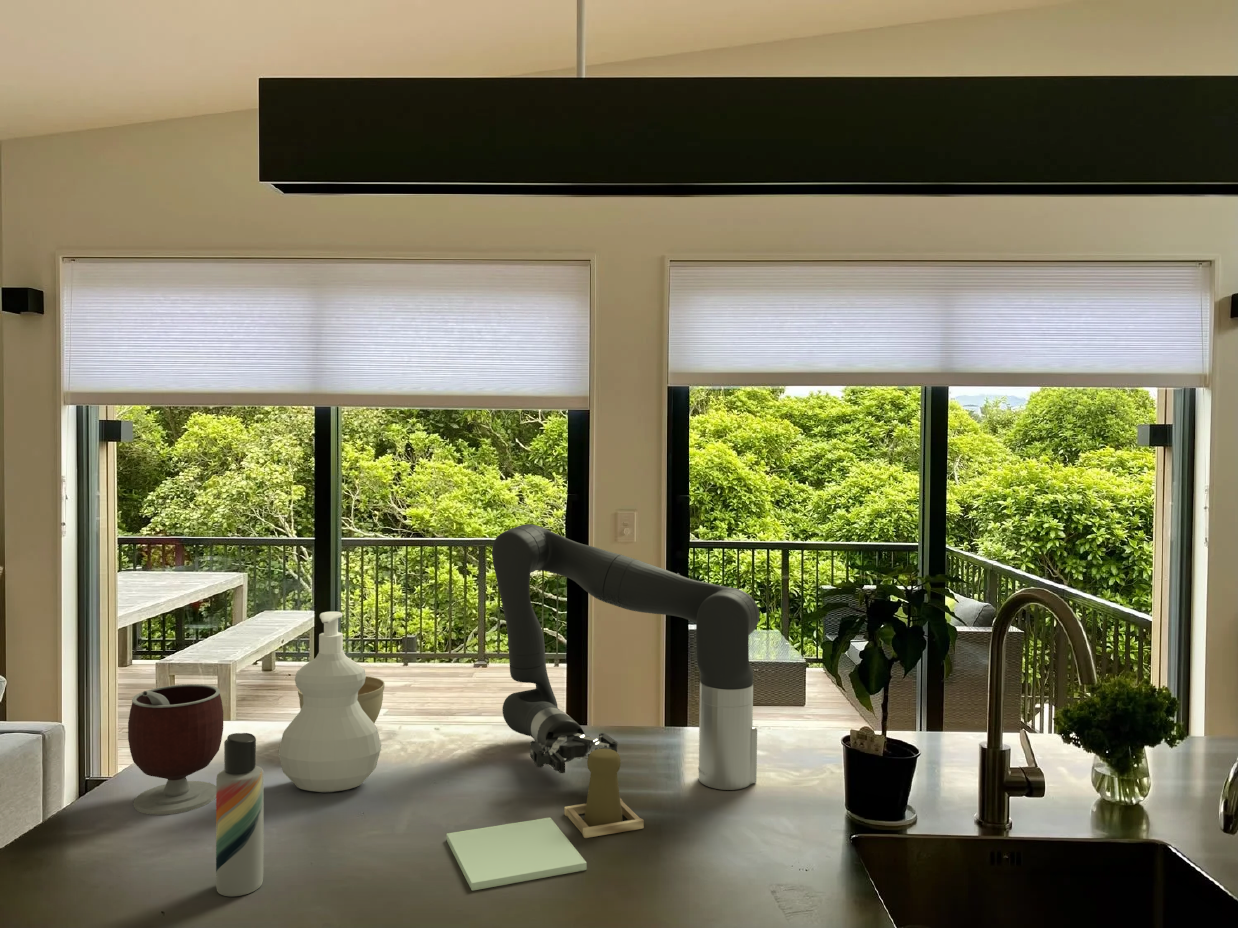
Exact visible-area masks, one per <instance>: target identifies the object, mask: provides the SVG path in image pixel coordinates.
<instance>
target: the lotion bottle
mask: <svg viewBox="0 0 1238 928" xmlns="http://www.w3.org/2000/svg"><path fill="white" fill-rule="evenodd" d="M223 743H224V745H223V746H224V747H223V748H224V751H223V753H224V754H223V755H224V756H223V757H224V762H223V763H224V765H223V766H224V769H223V770H221V771H219V772H218V773H217V775H216V782H215V783H216V784H215V786H216V798H215V799H216V800H215V801H216V802H215V805H216V806H215V808H216V809H215V812H216V814H215V819H216V820H215V823H216V824H215V829H216V830H215V840H216V841H215V842H216V843H215V847H216V848H215V886H216V891H217V892H218V894H220V895H221V896H224V897H241V896H245V895H247V894H251V893H253V892H255V891H257V890H258V889H259V888H260V887H261V886H262V884H263V880H264V770H263V768H262V767H261V766H258V765H257V763H256V762H257V759H256V758H257V748H256V747H257V745H256V744H257V738H256V736H255V735H254V734H252V733H248V732H238V733H236V732H235V733H231V734H228V736H227V738H226V739H225V740H224V742H223Z"/></svg>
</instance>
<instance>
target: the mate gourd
mask: <svg viewBox="0 0 1238 928" xmlns="http://www.w3.org/2000/svg"><path fill="white" fill-rule="evenodd" d="M131 702H132V703H131V706H130V710H129V716H128V720H127V721H128V723H127V740H128V745H129V751H130V755H131V758H132V761H133V763H134V764H135V766H137V768H138V769H140V771H141V772H142V773H143V774H145V775H147V776H149V777H155V778H161V779H164V780H166V783H165V784H161V785H158V786H155V787H152V788H149V789H147V790H144V791H143V792H141V793H140V794H138V795H137V796H136V797H135V798H134V800H133V807H134V810H136V811H137V812H139V813H141V814H145V815H146V814H147V815H153V816H154V815H157V816H158V815H159V816H160V815H172V814H173V815H174V814H179V813H184V812H189V811H193V810H197V809H200V808H202V807H204V806H207V805H209V804H211V803H212V802H214V801H215V799H216V784H214V783H211V782H207V781H200V780H189V781H188V779H187V777H188V776H190V775H192V774H194V773H198V772H199V771H201V770H203V769H205V768H206V767H208V766H209V765H210V763H211V762H212V761H213V759H214V758H215V756H216V755H217V754H218V752H219V751H220V748H221V743H222V740H223V735H224V734H223V732H224V708H223V702H222V698H221V689H220V688H219V687H217V686H215V685H210V684H199V683H195V684H194V683H187V684H186V683H185V684H172V685H167V686H160V687H156V688H151V689H147V690H144V691H141V692H139V693H137V694H136V695H134V696H133V697H132V698H131Z"/></svg>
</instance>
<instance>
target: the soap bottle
mask: <svg viewBox="0 0 1238 928" xmlns="http://www.w3.org/2000/svg"><path fill="white" fill-rule="evenodd" d="M342 617H343V612H341V611H324V612H321V613H320V614H319V619H320V621H321V623H322V624H323V632H321V633H319V635H318V653H317V655H316V657H315V658H313V659H312V660H310V661H308V662H307V663H306V664H304V665H303V666H302V667H301V668H299V669H298V670H297V671H296V673H295V678H294V682H295V687H296V688H297V690H298V689H299V690H300V691H301V693H302V694H303V702H304V704H303V706H302V708H301V709H300V711H299V712H298V713H297V715H295V717H294V718H293V719H292V720H291V722H290V723H289V724H288V726H287V727H286V728H285V729H284V731H283V733H282V736H281V738H280V739H281V740H280V744H279V748H278V758H279V762H280V765H281V768H282V769H281V770H282V772H283V774H284V775H285V776H286V777H287V778H289V780H290V781H291V782H292V783H293V784H294V785H295V786H296V788H298V789H301V790H304V791H309V792H317V793H335V792H341V791H346V790H350V789H353V788H357V787H359V786H362V784H363V783H364V782H365V781H366V780H367V778H368V777H369V776H370V775H371V774H373V772H374V771H375V769H376V768H377V765H378V762H379V757H380V754H381V750H382V743H381V738H380V734H379V730H378V729H379V728H378V727H377V725H376V724H375V723H373V722H372V721H371V719H370V718H369V717H368V716H367V714H366V713H365V712H364V711H363V710H362V708H361V706H360V704H359V702H358V700H357V698H358V691H359V690H360V689H361V687H362V686H363V685H364V683H365V679H366V676H367V674H366V673H367V672H366V669H365V668H364V667H363V666H361V665H360V664H359V663H357V662H356V661H355V660H354V659H351V658H349V657H348V656H347V655H346V654H345V651H344V644H343V643H344V638H343V637H344V633H342V632H340V631H339V618H342Z"/></svg>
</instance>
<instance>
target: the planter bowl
mask: <svg viewBox="0 0 1238 928" xmlns="http://www.w3.org/2000/svg"><path fill="white" fill-rule="evenodd" d="M384 691H385V681H384V680H383V679H381V678H378V677H374V676H369V675H366V679H365V683H364V685H363V686H362V687H361V689H360V690H359V691H358V698H357V700H358V702H359V704H360V706H361V708H362V710H363V711H364V712H365V713H366V714H367V716H368V717H369V718H370V719H371V721H372V722H373V723H374V724H375V723H376V721H377V720H378V717H379V715H380V712H381V711H382V710H381V709H382V706H383V700H384ZM297 694H298V699H299V708H300V710H301V708H302V706H303V704H304V702H303V694H302V693H301V691H300V690H299V689H298V688H297Z"/></svg>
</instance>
